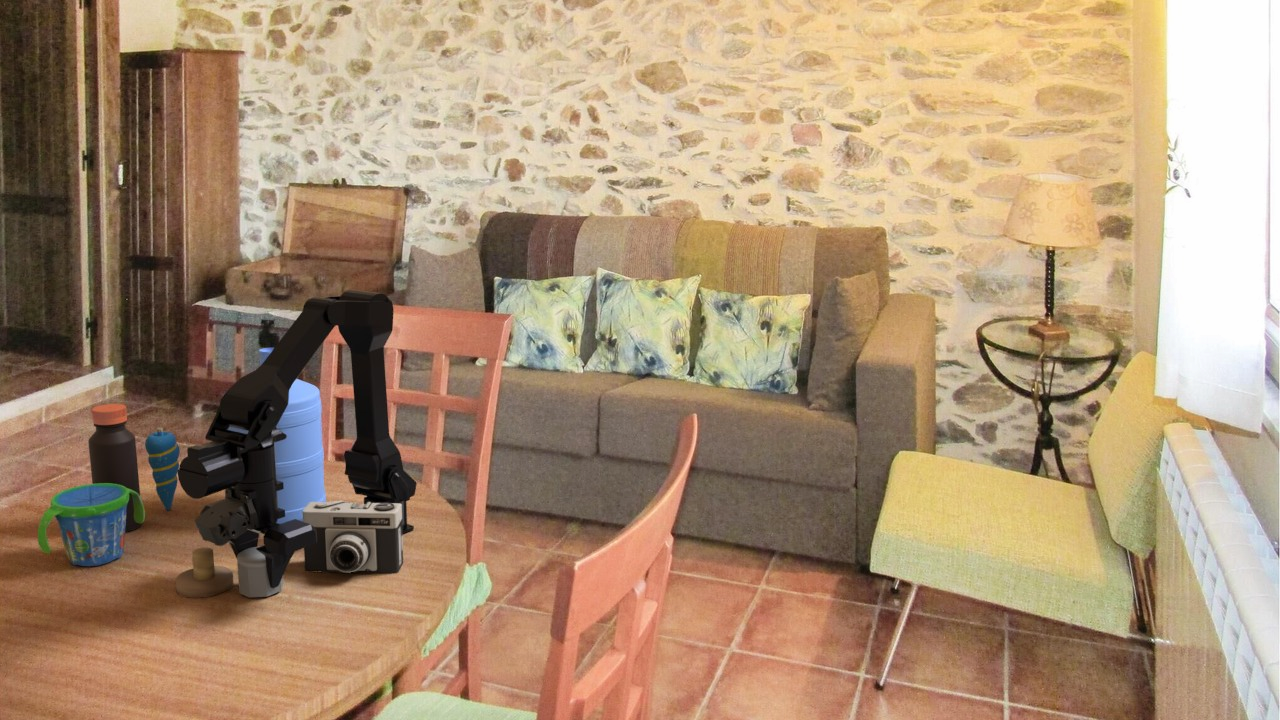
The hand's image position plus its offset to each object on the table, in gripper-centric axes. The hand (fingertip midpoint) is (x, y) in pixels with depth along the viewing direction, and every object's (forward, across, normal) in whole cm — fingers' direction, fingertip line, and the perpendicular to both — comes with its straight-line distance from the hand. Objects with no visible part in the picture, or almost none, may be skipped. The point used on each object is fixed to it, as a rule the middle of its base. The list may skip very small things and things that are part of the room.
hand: (261, 581), depth 157 cm
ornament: (+2, -39, +10) cm, 40 cm away
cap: (+1, 0, 0) cm, 1 cm away
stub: (+1, -8, -4) cm, 9 cm away
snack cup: (+2, -29, -8) cm, 30 cm away
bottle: (+2, -38, +1) cm, 38 cm away
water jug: (+2, -24, +21) cm, 32 cm away
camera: (+2, +5, +12) cm, 13 cm away
